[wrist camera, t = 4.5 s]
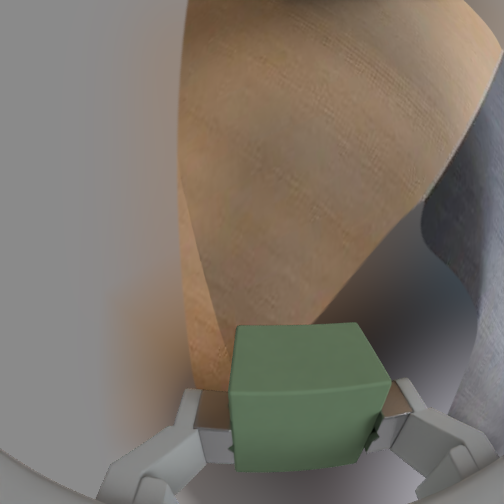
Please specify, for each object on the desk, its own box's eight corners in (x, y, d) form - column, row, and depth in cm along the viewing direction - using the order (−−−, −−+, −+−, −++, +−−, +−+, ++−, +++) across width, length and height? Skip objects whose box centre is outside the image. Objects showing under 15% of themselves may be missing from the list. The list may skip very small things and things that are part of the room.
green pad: (236, 324, 9) (227, 392, 6) (357, 321, 9) (393, 381, 6) (239, 407, 10) (235, 472, 7) (338, 403, 10) (356, 464, 7)
